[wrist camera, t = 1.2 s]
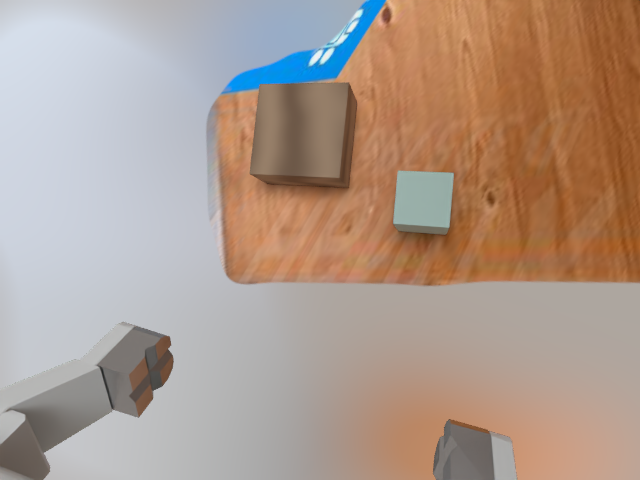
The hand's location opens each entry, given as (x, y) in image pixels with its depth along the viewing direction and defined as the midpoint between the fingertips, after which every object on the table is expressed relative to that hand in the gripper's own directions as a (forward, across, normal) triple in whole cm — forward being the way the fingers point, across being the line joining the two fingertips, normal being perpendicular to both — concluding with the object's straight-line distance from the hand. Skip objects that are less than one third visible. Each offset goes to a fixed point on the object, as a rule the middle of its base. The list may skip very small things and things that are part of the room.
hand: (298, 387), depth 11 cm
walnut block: (+38, +11, +6) cm, 40 cm away
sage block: (+34, -4, +10) cm, 35 cm away
